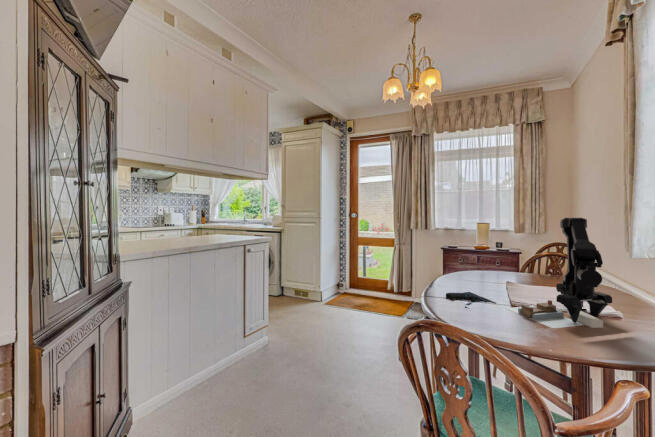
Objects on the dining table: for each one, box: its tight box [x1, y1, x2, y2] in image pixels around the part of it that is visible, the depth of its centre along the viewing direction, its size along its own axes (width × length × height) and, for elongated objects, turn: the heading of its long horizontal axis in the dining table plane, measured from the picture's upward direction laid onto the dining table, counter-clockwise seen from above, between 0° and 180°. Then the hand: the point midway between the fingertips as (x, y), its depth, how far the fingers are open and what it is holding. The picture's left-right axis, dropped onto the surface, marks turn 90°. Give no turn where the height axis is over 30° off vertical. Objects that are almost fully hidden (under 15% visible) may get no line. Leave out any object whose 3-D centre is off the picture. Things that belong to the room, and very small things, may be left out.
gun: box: [445, 291, 497, 310], centre depth 139 cm, size 24×3×15 cm
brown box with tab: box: [520, 299, 557, 319], centre depth 119 cm, size 12×4×6 cm, turn 100°
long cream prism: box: [566, 308, 604, 329], centre depth 112 cm, size 4×12×4 cm, turn 175°
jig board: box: [505, 305, 585, 330], centre depth 118 cm, size 14×22×3 cm, turn 10°
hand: (583, 321), depth 112 cm, fingers open, 8 cm apart
